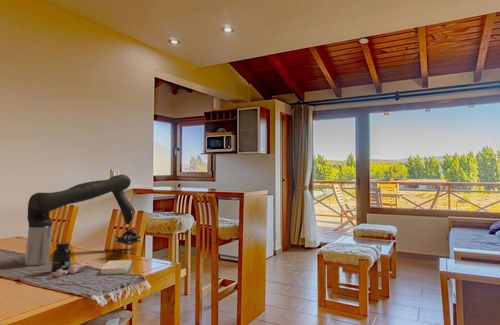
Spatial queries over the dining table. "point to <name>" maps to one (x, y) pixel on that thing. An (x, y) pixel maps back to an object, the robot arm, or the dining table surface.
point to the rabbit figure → (72, 269)
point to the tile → (116, 267)
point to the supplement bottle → (61, 256)
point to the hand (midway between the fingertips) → (125, 241)
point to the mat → (119, 274)
